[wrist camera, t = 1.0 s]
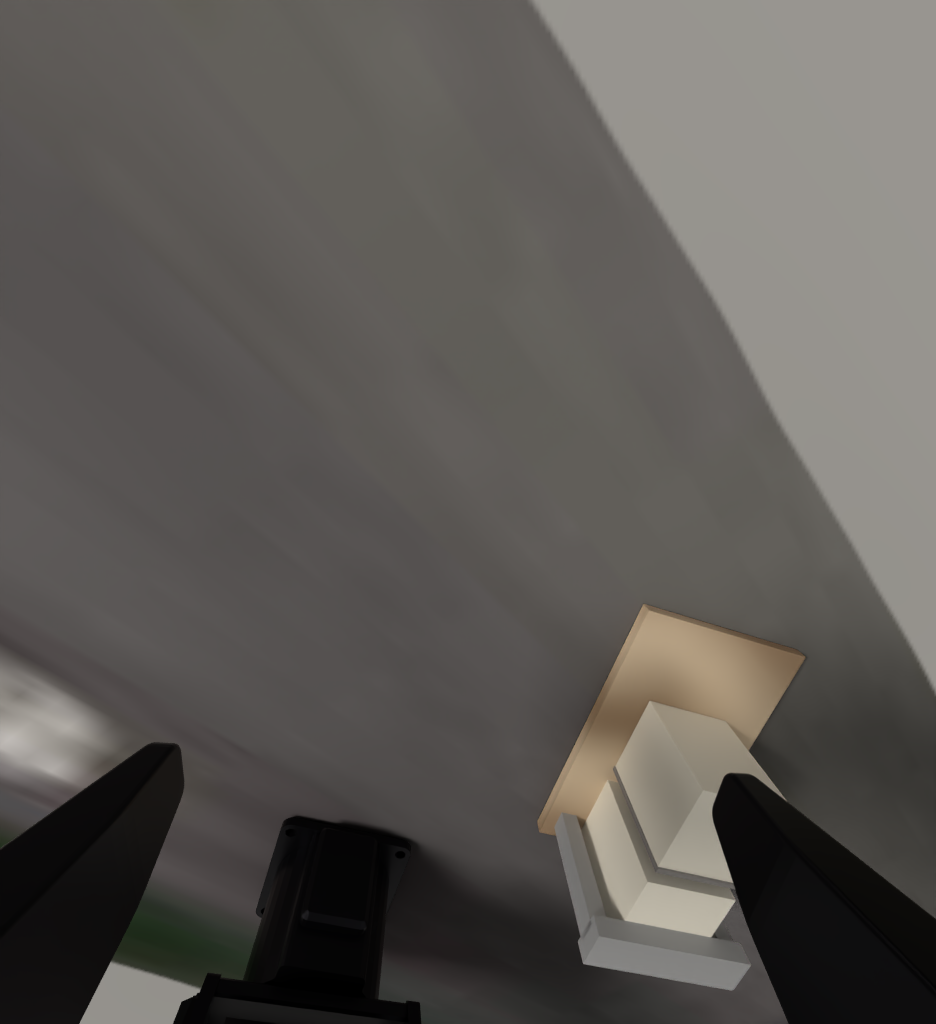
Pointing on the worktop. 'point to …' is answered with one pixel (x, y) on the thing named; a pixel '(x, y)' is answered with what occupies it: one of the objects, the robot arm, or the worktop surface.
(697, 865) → the stub
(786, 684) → the board
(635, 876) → the bracketed cream block
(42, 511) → the worktop surface
